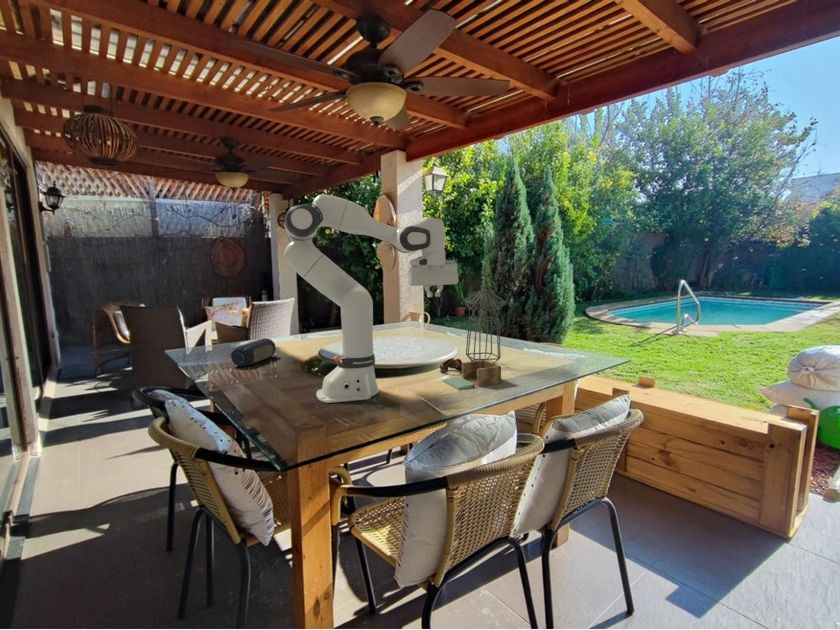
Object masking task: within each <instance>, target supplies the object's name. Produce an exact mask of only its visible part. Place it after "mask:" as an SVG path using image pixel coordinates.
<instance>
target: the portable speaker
mask: <svg viewBox="0 0 840 630" xmlns="http://www.w3.org/2000/svg"><path fill="white" fill-rule="evenodd" d="M275 353H276V343H275V342H274V341H273V339H271V338H262V339H257V340H254V341H251V342H248V343H244V344H241V345H238V346H236V348H234V349H233V350H232V352H231V353H230V358H231V362H232V363H233V364H234V365H235V366H238V367H243V368H244V367H248V366H250V365H253V364H257V363H258V362H261V361H263V360H266V359H269V358H271V357H272V356H274V355H275Z"/></svg>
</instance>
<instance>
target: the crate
mask: <svg viewBox="0 0 840 630" xmlns="http://www.w3.org/2000/svg"><path fill="white" fill-rule="evenodd" d="M461 378H463V379H465V380H467V381H469V382H471V383H473V384H475V387H477V388H481V387H487V386H492V385H499V384H502V366H501V365H499V364H496V363H495V364H493V362H490V361H488V360H487V361H486V360H476V361H471V360H470V361H465V362H463V361H462V374H461Z"/></svg>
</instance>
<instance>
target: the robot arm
mask: <svg viewBox="0 0 840 630" xmlns="http://www.w3.org/2000/svg"><path fill="white" fill-rule="evenodd" d="M283 223H284V224H283V225H284V230H285V233H286V235H287V238H288V240H289V243H288V244H287V246H285V249H284V252H283V258H284V260H285V261H286V262H287V264H288V265H289V266H290V267H291V268H292V269H293V270H294V271H295V272H296V273H297V274H298V275H299V276H300V277H301V278H303V280H305V281H306V282H307V283H308V284H310V285H311V286H312V287H313V288H314V289H316V290H317V291H318V292H319V293H320V294H322V295H324V296H325V297H327V298H328V299H329V300H330V301H332V302H333V303H334V304H336V305H337V306H339V307H340V319H341V321H340V322H341V323H340V324H341V341H342V342H341V343H342V355H341V356H339V355H335V356H334V357H333V361H335V362H336V363H337V365H336V367H335V368H334V369H332V370H331V371H330V372H329V373H328V374H327V375H326V376H324V378H323V382H322V388H321V389H318V390H317V391H316V392H315V393H316V397H317V399H318V401H320V402H323V403H328V404H329V403H330V404H331V403H339V402H340V403H341V402H352V401H354V402H355V401H365V400H369V399H371V397H373V396H375V395H376V394H378V393H379V392H380V389H379V388H378V387H379V386H378V383H377V380H376V379H377V378H376V373H375V368H376V357H375V353H374V332H373V331H374V329H373V328H374V306H373V305H374V304H373V303H374V301H373V298H372V295H371V294H370V292H369V291H368V290H367V288H365V287H364V286H362V285H361V284H360V283H359V282H358V281H356V280H355V279H354V278H353V277H351V276H350V275H349V273H347V272H346V271H344V269H342V268H341V267H339V265H337V264H336V263H335V262H333V260H331V259H330V258H329V257H328V256H326V255H325V254H324V253H323V252H321V250H319V249H318V248H317V246H315V245H314V242H313V240H314V238H315V236H316V234H317V232H318V230H319V228H322V227H328V228H332V229H335V230H338V231H340V232H344V233H347V234H352V235H361V236H370V237H372V238H375V239H378V240H381V241H383V242H386V243H389V244H390V245H392V246H393V247H394V248H395V250H397V251H398V252H400V253H402V254H409V253H414V252H417V251H421V256H417V257H416V258H412V259H411V260H409V265H410V267H409V269H408V271H407V272H408V273H407V283H408V285H409V286H412V287H418V286H419V287H421V286H424V287H423V288H424V290H425V292H426V293H427V294H426V296H427V298H432V297H433V296H434V297H435V298H440V297H441V292H442V290H443V289H444V285H457V284H458V283H459V273H458V262H456V261H455V260H452V259H450V260H446V250H445V244H446V231H445V224H444V221H443V219H441V218H438V217H435V216H424V217H423V218H421V219H420V220H419V221H417V222H414V223H413V224H409V225H407V226H405V227H394V226H391V225H388V224H387V223H384V222H381V221H379V220H376V219H375V218H373V217H372V216H371V215H370V214H369V212H368V210H366V208H365V207H363V206H361V205H359V204H357V203H356V202H354V201H351V200H347V199H346V198H342V197H339V196H334V195H329V194H323V193H322V194H318V195H317V196H316V197H315V198H314V199H313V201H312V202H311V203H304V204H298V205H295V206H292V207H291V208H289V209H288V210H287V212H286V214H285V216H284V222H283ZM431 286H436V287H437V290H436V291H434V295H433V292H431V290H430V288H431Z"/></svg>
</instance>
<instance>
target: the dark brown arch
mask: <svg viewBox="0 0 840 630" xmlns="http://www.w3.org/2000/svg"><path fill="white" fill-rule="evenodd" d="M462 363H463V361H462V360H461V359H460V358H456V359H455V358H454V357H451V358H449V359H447V360H445V361H443V362H442V363H441V364H440V365H439V367H438V368H439V369H440V371H439V372H440V373H441V374H443V373H445V372H446V373H449V369H454V370H456V371H460V372H459V375H462Z"/></svg>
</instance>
